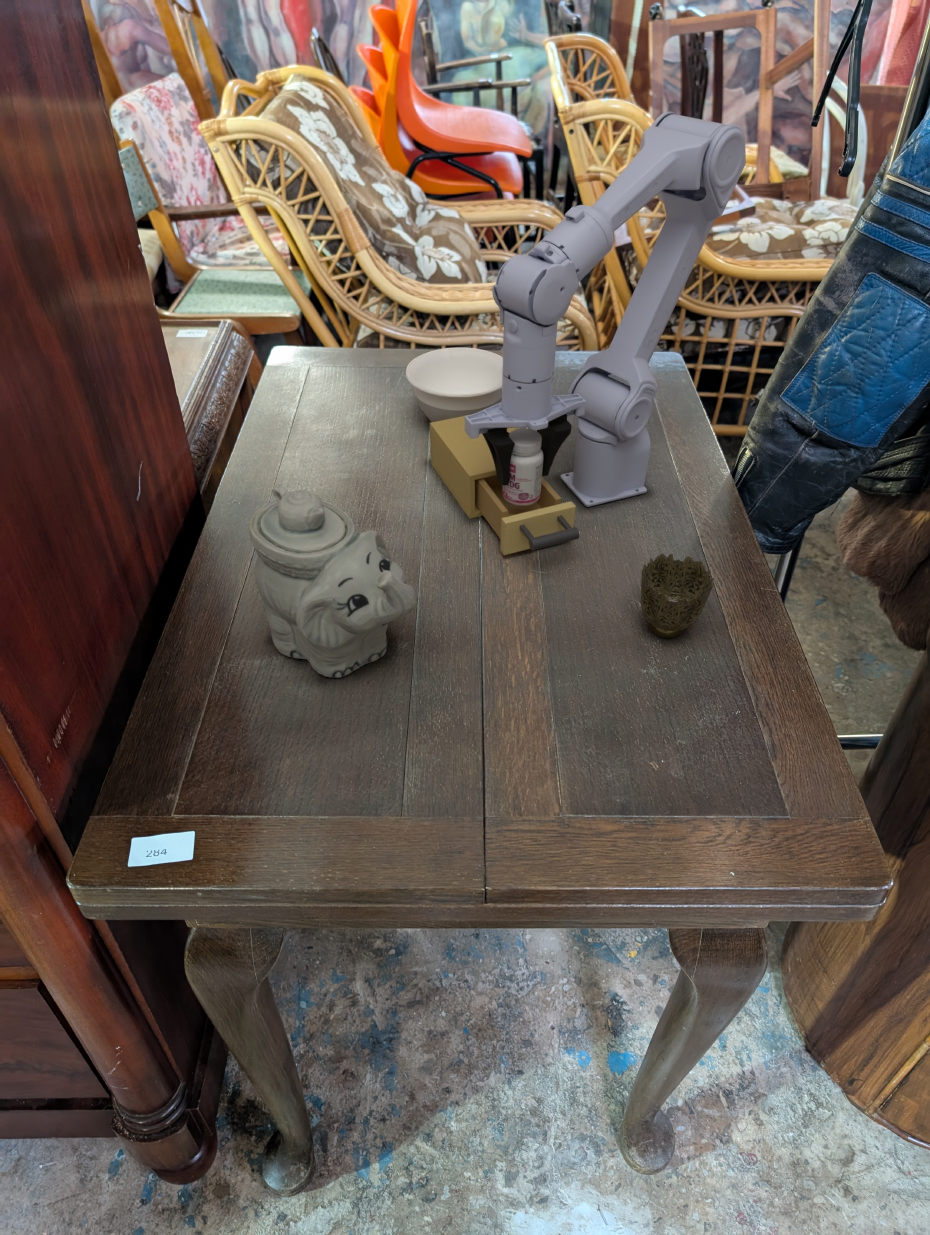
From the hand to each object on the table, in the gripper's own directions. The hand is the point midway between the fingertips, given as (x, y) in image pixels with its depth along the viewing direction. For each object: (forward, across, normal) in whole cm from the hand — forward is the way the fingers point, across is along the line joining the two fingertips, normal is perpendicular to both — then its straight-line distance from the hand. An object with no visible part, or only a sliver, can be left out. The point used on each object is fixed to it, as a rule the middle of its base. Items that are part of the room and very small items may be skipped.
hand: (522, 476), depth 97 cm
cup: (+8, +7, -24) cm, 26 cm away
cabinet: (+8, 0, +12) cm, 14 cm away
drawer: (+7, 0, -1) cm, 7 cm away
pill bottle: (+3, 0, 0) cm, 3 cm away
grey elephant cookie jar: (+8, -27, -14) cm, 31 cm away
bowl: (+8, +3, +28) cm, 30 cm away
